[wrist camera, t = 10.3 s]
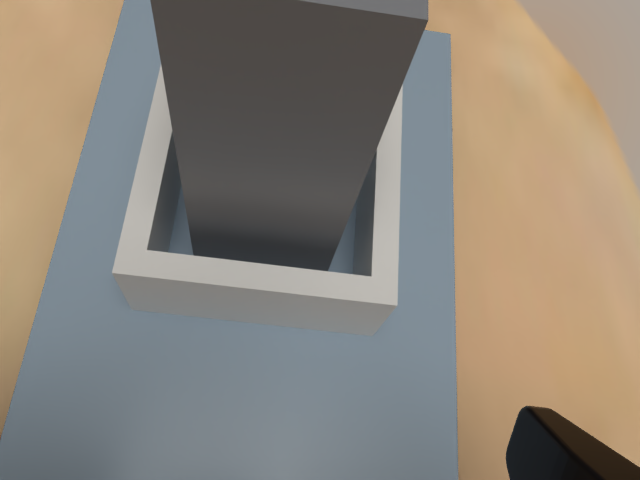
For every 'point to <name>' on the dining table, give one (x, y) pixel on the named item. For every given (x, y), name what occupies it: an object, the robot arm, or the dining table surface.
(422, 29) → the brick
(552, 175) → the dining table surface
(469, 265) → the dining table surface
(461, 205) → the dining table surface
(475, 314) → the dining table surface
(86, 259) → the outlet plate
